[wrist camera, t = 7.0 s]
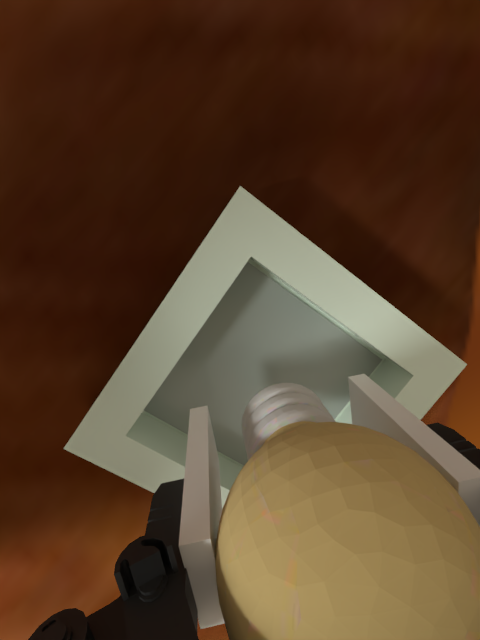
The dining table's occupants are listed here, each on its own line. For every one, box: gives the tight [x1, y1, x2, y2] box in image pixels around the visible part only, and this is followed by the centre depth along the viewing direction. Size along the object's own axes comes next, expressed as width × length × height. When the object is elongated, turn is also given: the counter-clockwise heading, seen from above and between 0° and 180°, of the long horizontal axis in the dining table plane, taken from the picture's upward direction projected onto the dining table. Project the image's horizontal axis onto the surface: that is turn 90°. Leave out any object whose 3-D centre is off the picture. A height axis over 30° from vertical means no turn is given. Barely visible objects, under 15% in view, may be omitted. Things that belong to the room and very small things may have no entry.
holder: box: [64, 186, 467, 509], centre depth 17 cm, size 14×14×4 cm
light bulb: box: [215, 383, 480, 640], centre depth 10 cm, size 6×6×10 cm
